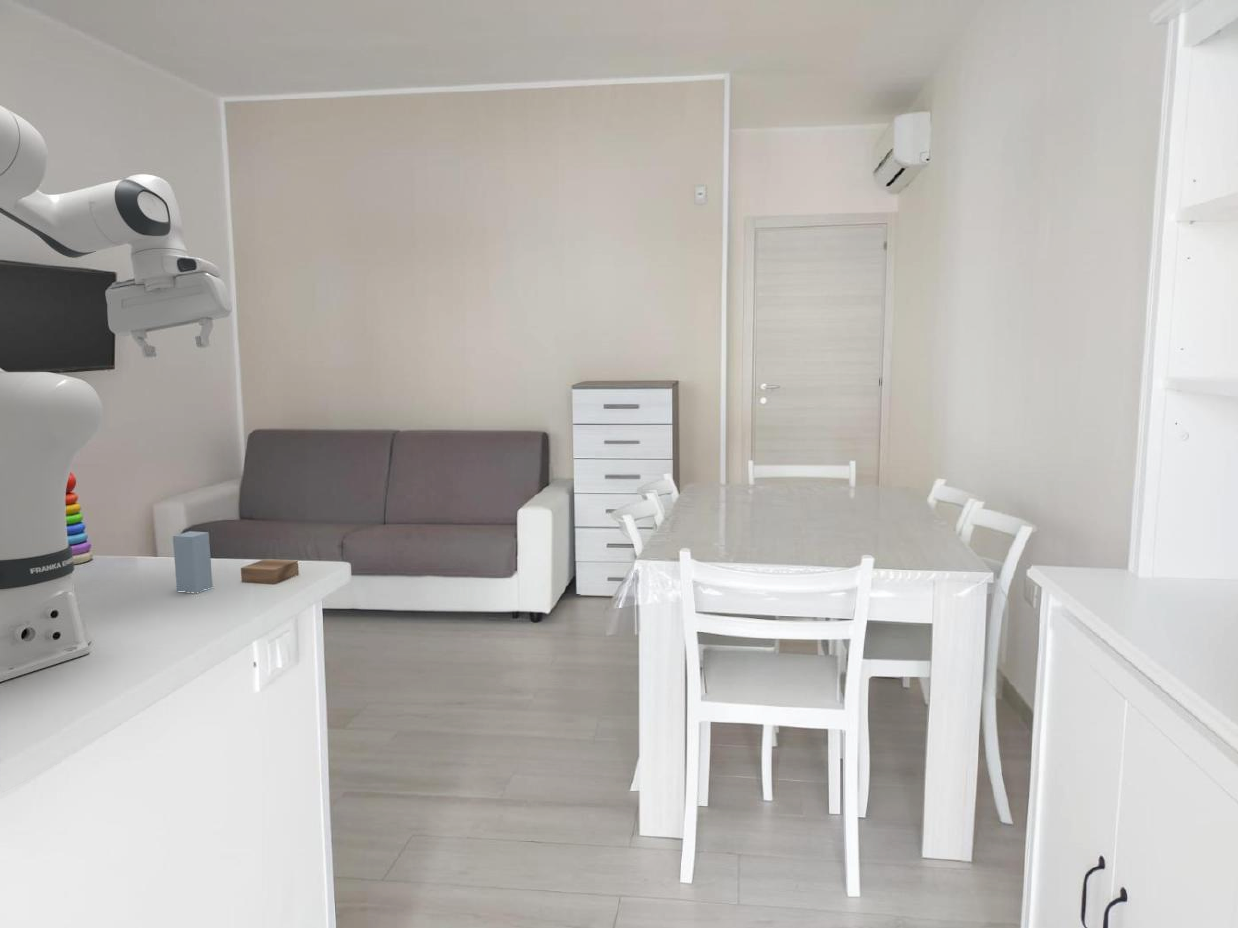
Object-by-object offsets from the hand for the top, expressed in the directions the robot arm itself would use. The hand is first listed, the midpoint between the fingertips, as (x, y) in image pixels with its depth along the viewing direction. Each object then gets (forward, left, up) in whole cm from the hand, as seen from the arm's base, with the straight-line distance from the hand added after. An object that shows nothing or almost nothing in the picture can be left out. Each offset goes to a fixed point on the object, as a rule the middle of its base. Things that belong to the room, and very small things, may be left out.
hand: (176, 352), depth 152 cm
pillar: (-2, -2, -42) cm, 42 cm away
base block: (+8, -10, -42) cm, 44 cm away
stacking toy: (+10, +38, -42) cm, 58 cm away
